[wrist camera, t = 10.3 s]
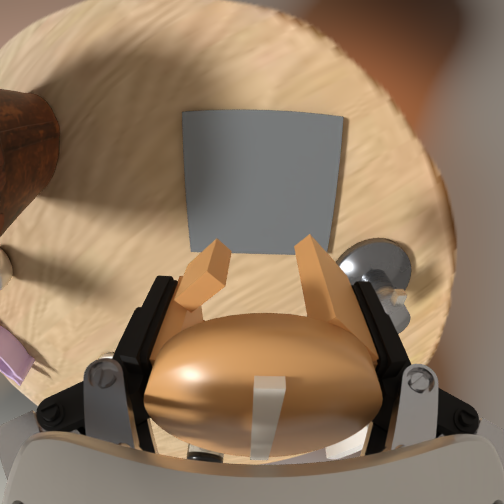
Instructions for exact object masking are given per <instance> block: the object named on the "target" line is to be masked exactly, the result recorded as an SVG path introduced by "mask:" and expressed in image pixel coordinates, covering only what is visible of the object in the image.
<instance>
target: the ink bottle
mask: <svg viewBox="0 0 504 504" xmlns="http://www.w3.org/2000/svg"><path fill="white" fill-rule="evenodd" d="M223 455H224V454H223V453H219V452H214V451H210V450H206V449H203V448H200V447H197V446H194V445H191V444H189V445H188V452H187V459H190V460H197V461H205V462H215V463H223Z"/></svg>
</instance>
